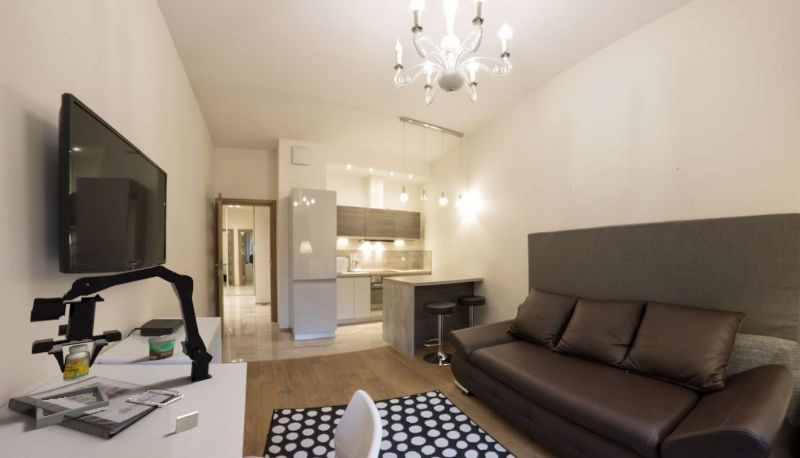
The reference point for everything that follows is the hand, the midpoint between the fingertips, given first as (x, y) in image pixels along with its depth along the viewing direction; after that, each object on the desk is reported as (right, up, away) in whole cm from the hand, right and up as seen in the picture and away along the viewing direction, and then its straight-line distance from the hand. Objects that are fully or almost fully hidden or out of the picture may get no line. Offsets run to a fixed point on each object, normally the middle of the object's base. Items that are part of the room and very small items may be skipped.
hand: (76, 369), depth 93 cm
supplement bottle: (0, -3, 0) cm, 3 cm away
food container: (-8, -16, +45) cm, 49 cm away
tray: (0, -11, -1) cm, 11 cm away
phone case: (+20, -13, +6) cm, 24 cm away
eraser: (+41, -11, -11) cm, 44 cm away
